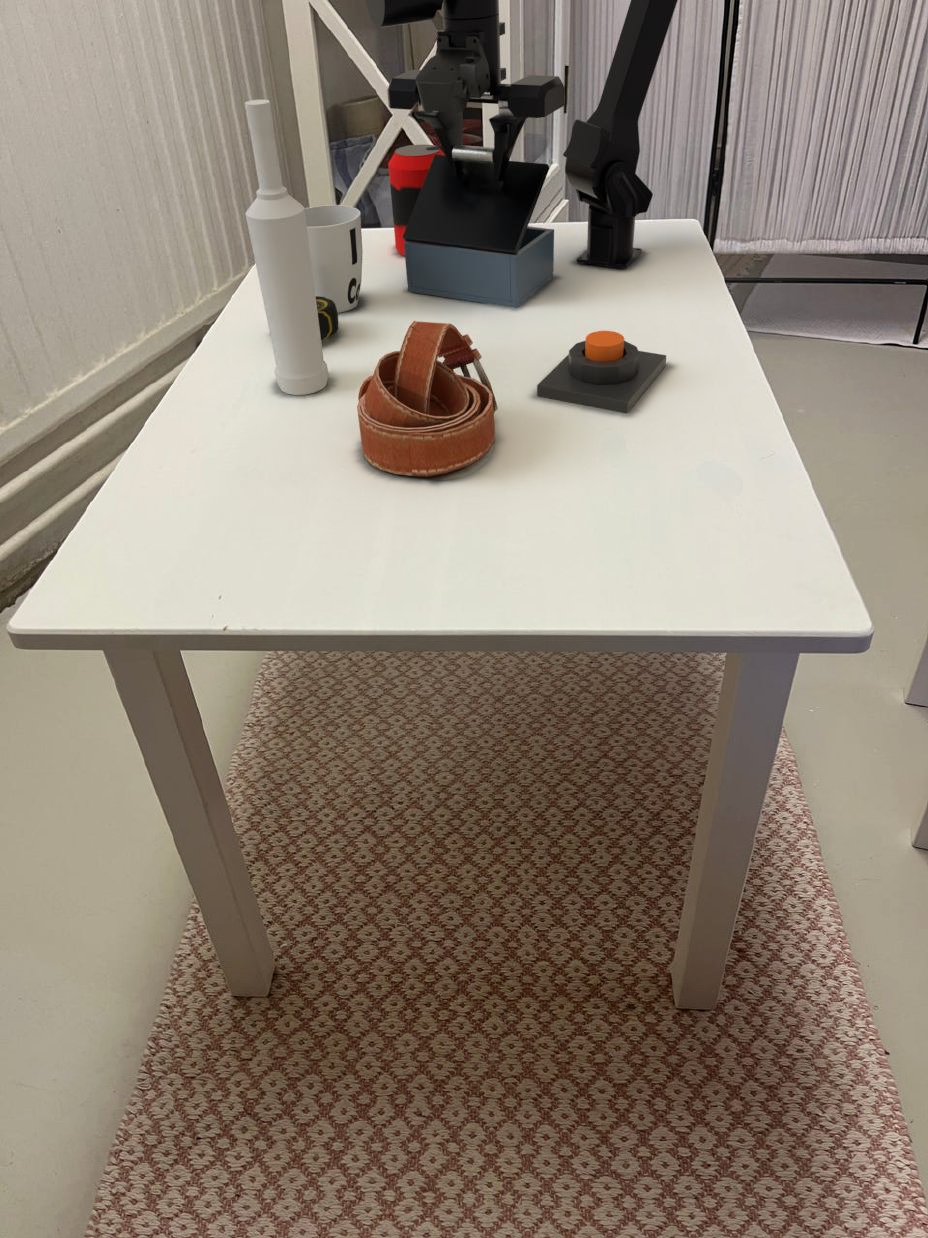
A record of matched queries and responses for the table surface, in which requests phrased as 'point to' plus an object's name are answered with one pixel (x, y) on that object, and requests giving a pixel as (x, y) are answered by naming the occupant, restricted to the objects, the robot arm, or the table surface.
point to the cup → (336, 253)
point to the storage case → (482, 270)
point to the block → (602, 378)
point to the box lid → (476, 202)
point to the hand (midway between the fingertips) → (478, 179)
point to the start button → (604, 346)
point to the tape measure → (327, 317)
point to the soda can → (408, 184)
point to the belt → (427, 405)
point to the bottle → (283, 265)
